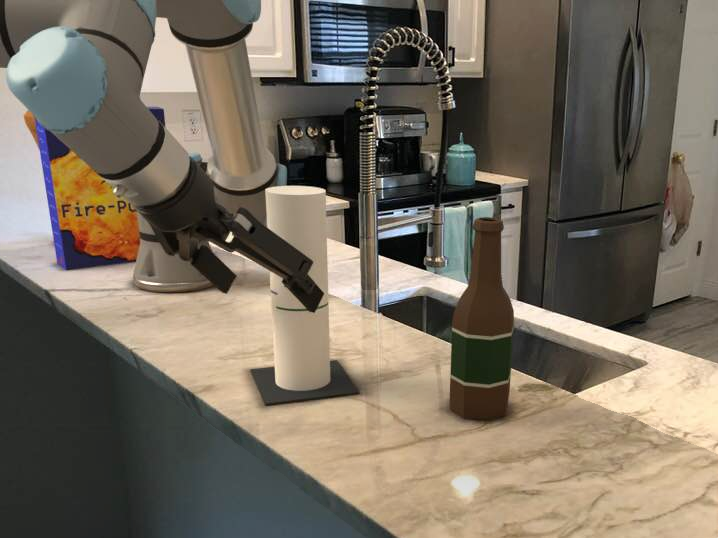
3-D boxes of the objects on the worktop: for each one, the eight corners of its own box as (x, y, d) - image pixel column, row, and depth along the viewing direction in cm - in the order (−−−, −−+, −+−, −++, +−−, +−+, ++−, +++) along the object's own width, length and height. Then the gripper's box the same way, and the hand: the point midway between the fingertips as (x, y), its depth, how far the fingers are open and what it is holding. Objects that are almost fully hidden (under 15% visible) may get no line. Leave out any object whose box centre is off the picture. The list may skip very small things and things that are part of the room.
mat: (250, 371, 104) (250, 369, 104) (336, 361, 109) (336, 360, 109) (265, 405, 94) (265, 403, 94) (359, 393, 99) (359, 391, 99)
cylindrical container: (314, 366, 106) (308, 184, 97) (340, 383, 101) (336, 192, 92) (266, 377, 102) (255, 187, 93) (290, 395, 97) (281, 196, 88)
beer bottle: (520, 405, 98) (534, 219, 89) (490, 427, 91) (501, 228, 83) (468, 391, 101) (477, 210, 93) (436, 411, 95) (441, 219, 86)
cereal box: (66, 270, 147) (41, 107, 136) (57, 263, 151) (32, 104, 141) (178, 256, 161) (163, 107, 150) (167, 250, 165) (152, 105, 154)
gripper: (54, 195, 78) (181, 301, 96) (239, 226, 68) (343, 339, 86) (92, 139, 81) (209, 253, 99) (276, 161, 70) (369, 283, 88)
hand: (272, 293), depth 92 cm, fingers open, 13 cm apart
